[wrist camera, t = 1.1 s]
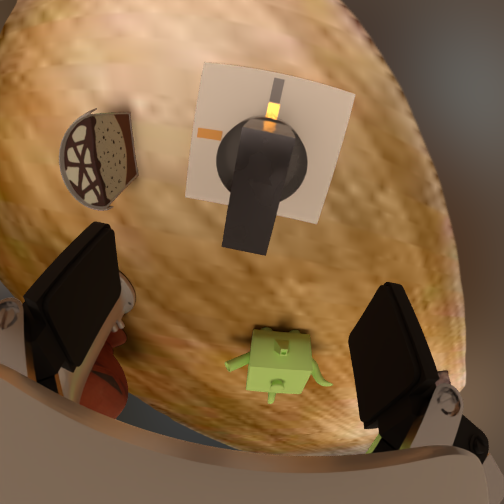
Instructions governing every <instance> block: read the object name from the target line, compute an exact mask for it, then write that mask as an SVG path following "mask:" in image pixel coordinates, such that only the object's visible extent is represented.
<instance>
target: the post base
mask: <svg viewBox="0 0 504 504" xmlns="http://www.w3.org/2000/svg"><path fill="white" fill-rule="evenodd" d="M354 98H355V94H353V93H350V92H347V91H344V90H341V89H338V88H335V87H332V86H328V85H325V84H321V83H318V82H314V81H311V80H307V79H303V78H299V77H295V76H290V75H286V74H281V73H277V72H272V71H266V70H261V69H255V68H249V67H242V66H235V65H227V64H218V63H208V62H204V65H203V70H202V75H201V81H200V87H199V92H198V98H197V105H196V111H195V118H194V125H193V132H192V139H191V147H190V155H189V164H188V173H187V183H186V193H185V197H187V198H193V199H198V200H203V201H209V202H214V203H219V204H225V205H228V204H229V198H230V192H229V191H228V190H227V189H226V187H225V186H224V185H223V183H222V182H221V180H220V178H219V175H218V172H217V167H216V155H217V150H218V147H219V145H220V143H221V141H222V139H223V138H224V136H225V135H226V134H227V133H228V132H229V131H230V130H231V129H232V128H233V127H234V126H236V125H237V124H238V123H240V122H241V121H243V120H245V119H247V118H249V117H253V116H259V115H266V113H267V109H268V104H269V102H271V103H276V104H280V108H279V112H278V117H277V118H279V119H281V120H283V121H285V122H286V123H288V124H289V125H290V126H291V127H292V128H293V129H294V130H295V131H296V132H297V134H298V135H299V137H300V139H301V141H302V143H303V145H304V147H305V150H306V153H307V160H308V165H307V172H306V175H305V178H304V180H303V182H302V184H301V186H300V187H299V188H298V189H297V191H296V192H295V193H294V194H292V195H291V196H290V197H288V198H287V199H285V200H283V201H281V202H280V203H279V207H278V210H277V214H276V215H278V216H283V217H287V218H292V219H296V220H301V221H305V222H309V223H314V224H317V222H318V219H319V216H320V213H321V210H322V207H323V204H324V201H325V198H326V195H327V192H328V189H329V186H330V182H331V179H332V176H333V173H334V169H335V166H336V163H337V159H338V156H339V153H340V149H341V146H342V142H343V139H344V135H345V132H346V128H347V125H348V121H349V117H350V114H351V110H352V106H353V102H354Z"/></svg>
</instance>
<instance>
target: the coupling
mask: <svg viewBox="0 0 504 504" xmlns="http://www.w3.org/2000/svg"><path fill="white" fill-rule="evenodd" d="M279 108H280V104H276V103H271V102H269V104H268V109H267V113H266V115H259V116H253V117H249V118H247V119H245V120H243V121H241V122H240V123H238V124H237V125H236V126H234V127H233V128H232V129H231V130H230V131H229V132H228V133H227V134H226V135H225V136H224V138H223V139H222V141H221V143H220V145H219V147H218V150H217V155H216V167H217V172H218V175H219V178H220V180H221V182H222V183H223V185H224V186H225V187H226V189H227V190H228V191H229V192H230V198H229V204H228V210H227V216H226V223H225V229H224V235H223V242H222V247H225V248H230V249H235V250H240V251H245V252H250V253H255V254H260V255H265V256H266V253H267V249H268V245H269V241H270V237H271V234H272V230H273V226H274V222H275V218H276V214H277V210H278V207H279V203H280V202H281V201H283V200H285V199H287V198H288V197H290V196H291V195H292V194H294V193H295V192H296V191H297V189H298V188H299V187H300V186H301V184H302V182H303V180H304V178H305V175H306V172H307V165H308V160H307V153H306V150H305V147H304V145H303V143H302V141H301V139H300V137H299V135H298V134H297V132H296V131H295V130H294V129H293V128H292V127H291V126H290V125H289V124H288V123H286V122H285V121H283V120H281V119H279V118H277V117H278V112H279Z"/></svg>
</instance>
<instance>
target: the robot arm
mask: <svg viewBox="0 0 504 504" xmlns="http://www.w3.org/2000/svg"><path fill="white" fill-rule="evenodd" d="M23 297H24V299H25V302H24V303H23V304H22V303H21V302H20V301H19V300H18V299H16V298H6V299H3V300H1V301H0V504H500V502H501V501H502V499H503V497H504V476H503V474H502V473H501V471H500V469H499V467H498V466H497V464H496V463H495V461H494V459H493V457H492V456H491V454H490V453H489V454H488V450H489V449H488V448H489V445H488V439H487V437H486V436H485V434H484V433H483V432H482V431H481V430H480V429H478V428H477V427H476V426H475V425H474V424H473V423H472V422H471V421H469V420H468V419H467V418H466V417H465V416H464V415H462V413H463V400H462V397H461V395H460V393H459V392H458V390H457V389H456V388H455V387H454V386H452V385H450V384H447V383H442V384H440V385H438V386H437V387H436V384H435V382H436V381H438V380H439V379H440V378H439V375H438V372H437V369H436V366H435V363H434V360H433V357H432V355H431V352H430V349H429V347H428V344H427V341H426V339H425V336H424V334H423V331H422V329H421V327H420V324H419V322H418V319H417V317H416V315H415V312H414V310H413V308H412V306H411V303H410V301H409V299H408V297H407V295H406V293H405V290H404V288H403V287H402V285H400V284H396V283H391V282H386V283H385V284H384V285H381V286H380V287H379V288H378V290H377V291H376V293H375V295H374V297H373V298H372V300H371V302H370V303H369V305H368V307H367V308H366V310H365V311H364V313H363V315H362V316H361V318H360V319H359V321H358V323H357V324H356V326H355V327H354V329H353V330H352V332H351V333H350V335H349V340H348V343H349V349H350V354H351V360H352V366H353V372H354V379H355V385H356V392H357V399H358V407H359V415H360V420H361V421H362V422H364V429H374V428H379V434H378V436H377V437H376V439H375V440H374V442H373V443H372V445H371V446H370V448H369V449H368V451H367V452H366V454H357V455H342V456H288V455H272V454H260V453H251V452H243V451H235V450H229V449H222V448H216V447H211V446H205V445H201V444H196V443H192V442H187V441H183V440H179V439H175V438H171V437H168V436H164V435H161V434H157V433H154V432H150V431H147V430H144V429H141V428H138V427H134V426H131V425H129V424H126V423H123V422H121V421H118V420H115V419H113V418H110V417H108V416H105V415H103V414H100V413H98V412H96V411H93V410H91V409H89V408H86V407H84V406H82V405H80V404H79V403H80V399H81V395H82V392H83V388H84V386H85V383H86V381H87V378H88V376H89V374H90V372H91V369H92V367H93V365H94V363H95V361H96V359H97V357H98V355H99V353H100V351H101V349H102V347H103V345H104V343H105V341H106V339H107V338H108V336H109V334H110V332H111V331H112V332H116V331H117V330H118V326H119V328H120V329H123V328H124V327H125V325H124V323H123V321H122V320H121V318H122V316H123V314H125V313H128V312H129V311H130V310H131V309H132V308H133V306H134V304H135V292H134V290H133V287H132V286H131V284H130V282H129V281H128V280H127V279H126V277H125V276H124V275H122V274H121V273H120V272H119V268H118V261H117V253H116V244H115V234H114V231H113V230H112V229H111V227H110V225H109V224H105V223H100V222H93V223H92V224H90V225H89V226H88V227H87V228H86V229H85V230H84V231H83V232H82V233H81V234H80V235H79V236H78V237H77V238H76V239H75V240H74V241H73V242H72V243H71V244H70V245H69V246H68V247H67V248H66V249H65V250H64V251H63V252H62V253H61V254H60V255H59V256H58V257H57V258H56V259H55V260H54V261H53V263H52V264H51V265H50V266H49V267H48V268H47V269H46V270H45V271H44V272H43V274H42V275H41V276H40V277H39V278H38V279H37V280H36V282H35V283H34V284H33V285H32V286H31V287H30V289H29V290H28V291H27V292H26V294H25V295H24V296H23ZM116 323H117V324H116ZM117 325H118V326H117Z"/></svg>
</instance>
